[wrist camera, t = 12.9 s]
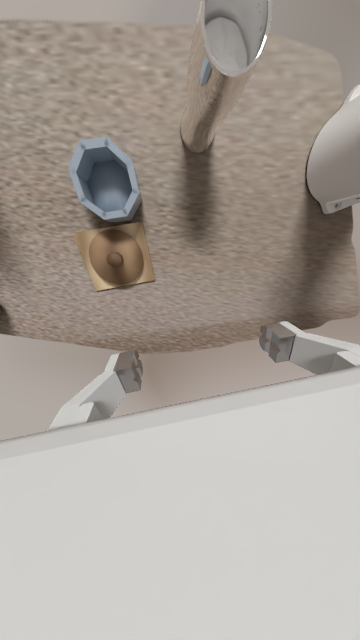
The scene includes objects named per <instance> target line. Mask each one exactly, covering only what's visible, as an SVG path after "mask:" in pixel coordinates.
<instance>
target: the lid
mask: <svg viewBox="0 0 360 640" xmlns="http://www.w3.org/2000/svg"><path fill="white" fill-rule="evenodd" d="M89 258H90V262H91V265H92V267H93V268H94V270H95V271H96V273H97V274H98V275H99V276H100V277H101V278H103V279H104V280H106V281H108V282H110V283H113V284H118V285H123V284H128V283H131V282H132V281H134V280H135V279H136V278H137V277H138V276H139V275H140V273H141V271H142V268H143V263H144V259H143V253H142V250H141V248H140V246H139V244H138V243H137V242H136V241H135V239H134V238H132V237H131V236H130V235H128V234H127V233H125V232H123V231H120V230H115V229H108V230H104V231H102V232H100V233H98V234H97V235H96V236H95V237H94V238H93V239H92V241H91V243H90V247H89Z"/></svg>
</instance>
